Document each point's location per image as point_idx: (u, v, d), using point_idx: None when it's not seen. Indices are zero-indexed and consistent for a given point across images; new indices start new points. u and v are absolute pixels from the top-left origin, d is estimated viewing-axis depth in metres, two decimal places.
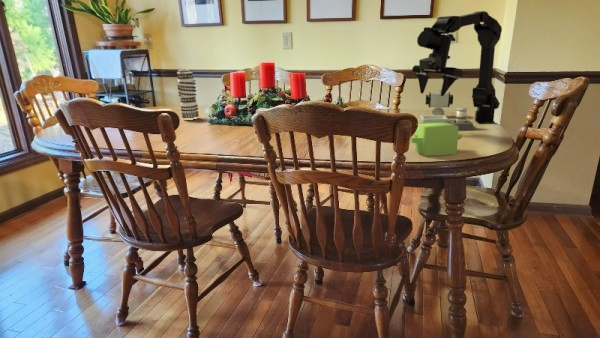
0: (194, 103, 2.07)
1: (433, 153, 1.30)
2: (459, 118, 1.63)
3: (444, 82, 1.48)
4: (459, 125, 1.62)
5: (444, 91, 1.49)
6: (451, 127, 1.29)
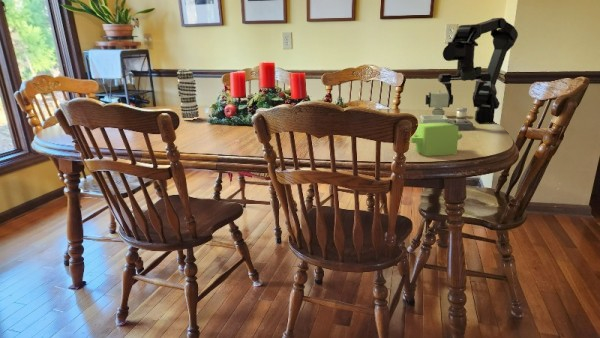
0: (194, 103, 2.07)
1: (433, 153, 1.30)
2: (459, 118, 1.63)
3: (478, 88, 1.59)
4: (459, 125, 1.62)
5: None
6: (451, 127, 1.29)
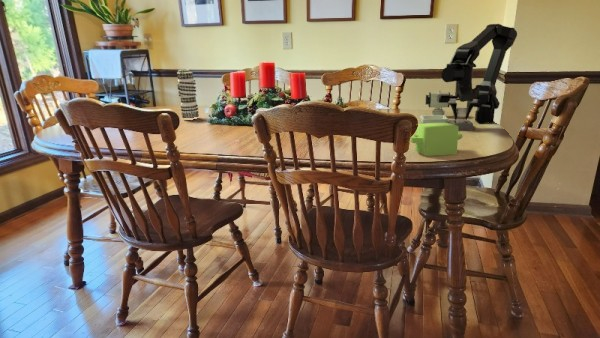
0: (194, 103, 2.07)
1: (433, 153, 1.30)
2: (459, 118, 1.63)
3: (470, 108, 1.62)
4: (459, 125, 1.62)
5: None
6: (451, 127, 1.29)
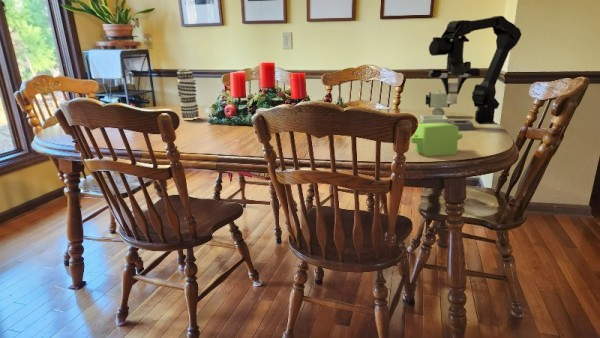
0: (194, 103, 2.07)
1: (433, 153, 1.30)
2: (450, 93, 1.64)
3: (461, 83, 1.62)
4: (459, 125, 1.62)
5: None
6: (451, 127, 1.29)
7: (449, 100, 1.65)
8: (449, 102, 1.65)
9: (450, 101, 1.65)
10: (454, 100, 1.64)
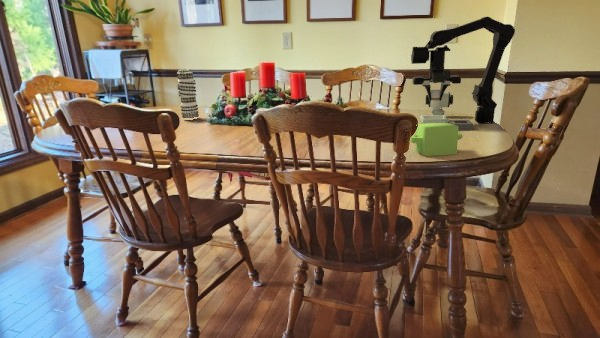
0: (194, 103, 2.07)
1: (433, 153, 1.30)
2: (433, 100, 1.72)
3: (443, 90, 1.71)
4: (459, 125, 1.62)
5: None
6: (451, 127, 1.29)
7: (431, 106, 1.73)
8: (432, 108, 1.73)
9: (433, 107, 1.73)
10: (436, 106, 1.73)
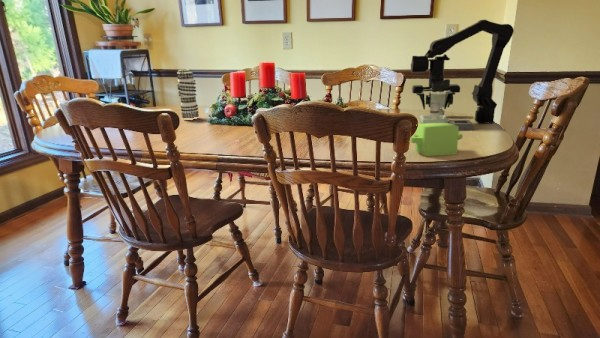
0: (194, 103, 2.07)
1: (433, 153, 1.30)
2: (432, 112, 1.74)
3: (448, 98, 1.71)
4: (459, 125, 1.62)
5: None
6: (451, 127, 1.28)
7: None
8: None
9: None
10: None
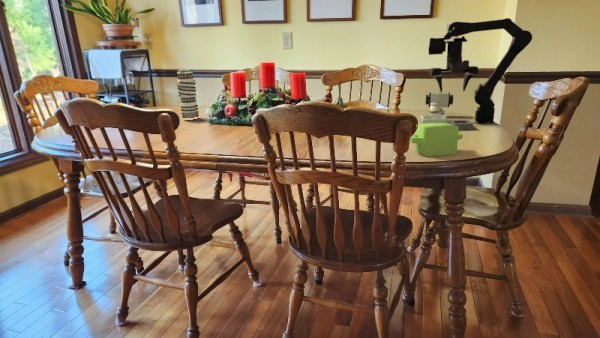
0: (194, 103, 2.07)
1: (433, 153, 1.30)
2: (432, 112, 1.74)
3: (467, 80, 1.71)
4: (459, 125, 1.62)
5: None
6: (451, 127, 1.28)
7: None
8: None
9: None
10: None
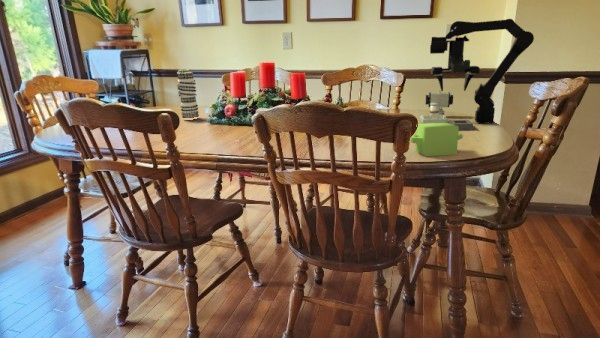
0: (194, 103, 2.07)
1: (433, 153, 1.30)
2: (432, 112, 1.74)
3: (468, 80, 1.72)
4: (459, 125, 1.62)
5: None
6: (451, 127, 1.28)
7: None
8: None
9: None
10: None
